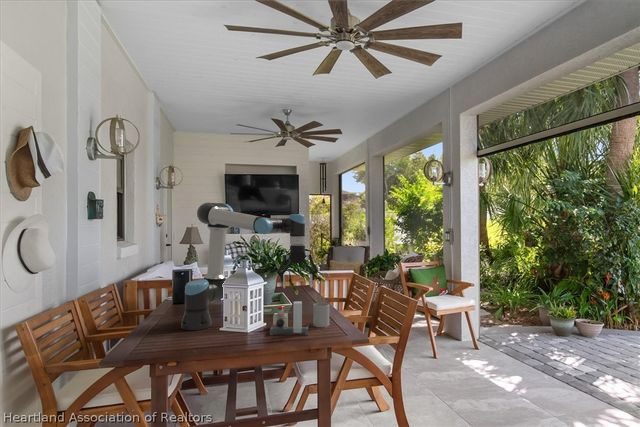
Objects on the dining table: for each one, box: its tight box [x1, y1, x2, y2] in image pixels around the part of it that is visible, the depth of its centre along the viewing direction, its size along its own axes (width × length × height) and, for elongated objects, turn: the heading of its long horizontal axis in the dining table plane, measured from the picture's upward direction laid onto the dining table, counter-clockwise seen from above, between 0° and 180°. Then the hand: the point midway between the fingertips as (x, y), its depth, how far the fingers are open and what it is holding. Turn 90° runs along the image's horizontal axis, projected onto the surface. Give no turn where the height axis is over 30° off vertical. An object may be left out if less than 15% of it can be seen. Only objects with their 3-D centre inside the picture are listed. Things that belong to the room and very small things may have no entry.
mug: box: [312, 302, 330, 328], centre depth 204 cm, size 12×8×11 cm
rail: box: [269, 325, 309, 336], centre depth 186 cm, size 18×4×3 cm, turn 92°
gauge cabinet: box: [272, 312, 289, 327], centre depth 195 cm, size 7×6×7 cm
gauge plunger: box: [276, 305, 285, 316], centre depth 195 cm, size 4×4×7 cm
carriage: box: [292, 301, 303, 333], centre depth 186 cm, size 4×4×14 cm
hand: (297, 287), depth 190 cm, fingers open, 13 cm apart
